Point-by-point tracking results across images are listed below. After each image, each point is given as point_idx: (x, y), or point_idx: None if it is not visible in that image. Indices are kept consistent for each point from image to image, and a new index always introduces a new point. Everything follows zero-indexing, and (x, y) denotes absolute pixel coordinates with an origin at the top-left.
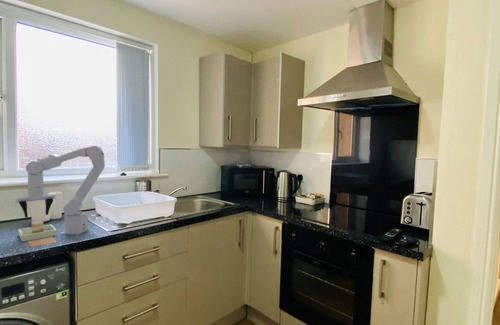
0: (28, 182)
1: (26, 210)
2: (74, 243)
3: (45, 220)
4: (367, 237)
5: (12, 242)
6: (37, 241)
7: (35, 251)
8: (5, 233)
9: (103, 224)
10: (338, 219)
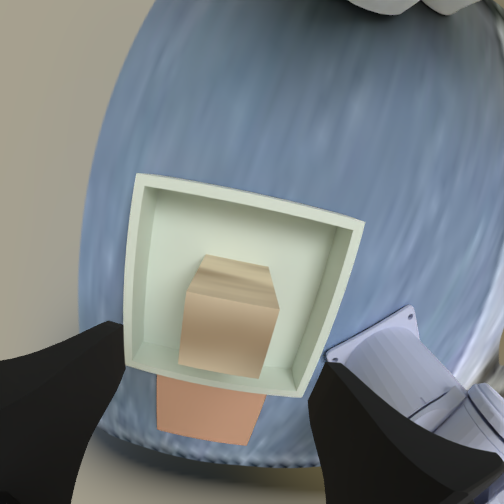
0: None
1: (83, 440)
2: (282, 467)
3: (383, 12)
4: None
5: (104, 302)
6: (191, 400)
7: (167, 453)
8: (128, 61)
9: (490, 320)
10: None
